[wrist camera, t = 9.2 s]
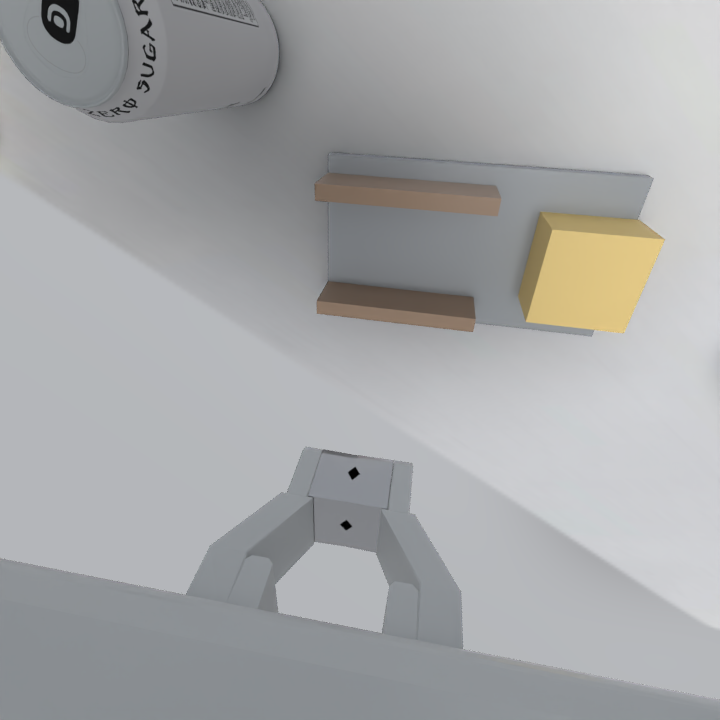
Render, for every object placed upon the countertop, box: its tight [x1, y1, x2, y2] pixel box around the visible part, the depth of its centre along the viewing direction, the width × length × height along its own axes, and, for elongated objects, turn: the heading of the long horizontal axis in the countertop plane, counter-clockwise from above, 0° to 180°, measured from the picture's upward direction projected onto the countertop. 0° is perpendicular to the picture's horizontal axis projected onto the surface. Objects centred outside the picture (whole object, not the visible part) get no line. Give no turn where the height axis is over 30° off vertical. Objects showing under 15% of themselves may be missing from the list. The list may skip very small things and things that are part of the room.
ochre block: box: [518, 212, 665, 333], centre depth 28 cm, size 6×6×4 cm
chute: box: [315, 153, 654, 336], centre depth 29 cm, size 20×11×4 cm, turn 88°
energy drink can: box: [0, 0, 279, 123], centre depth 21 cm, size 6×6×15 cm
